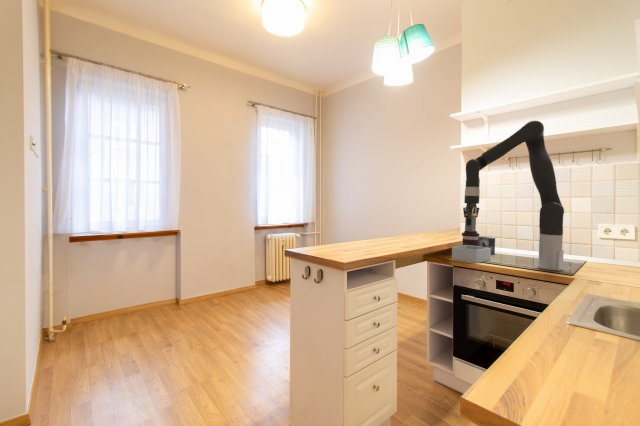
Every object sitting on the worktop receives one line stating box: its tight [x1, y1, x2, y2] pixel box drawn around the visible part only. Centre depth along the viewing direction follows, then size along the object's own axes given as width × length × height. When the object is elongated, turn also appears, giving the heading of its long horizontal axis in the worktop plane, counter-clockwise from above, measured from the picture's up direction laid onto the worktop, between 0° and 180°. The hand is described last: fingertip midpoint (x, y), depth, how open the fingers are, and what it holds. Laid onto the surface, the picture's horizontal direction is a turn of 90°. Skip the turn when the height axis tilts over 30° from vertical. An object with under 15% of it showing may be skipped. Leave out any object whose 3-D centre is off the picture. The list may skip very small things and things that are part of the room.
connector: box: [464, 213, 477, 231], centre depth 171 cm, size 4×4×10 cm
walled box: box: [451, 244, 492, 264], centre depth 171 cm, size 14×16×7 cm
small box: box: [478, 235, 496, 256], centre depth 193 cm, size 11×6×10 cm, turn 25°
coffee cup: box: [461, 230, 480, 246], centre depth 188 cm, size 10×10×15 cm
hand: (470, 225), depth 171 cm, fingers closed on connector, 4 cm apart
